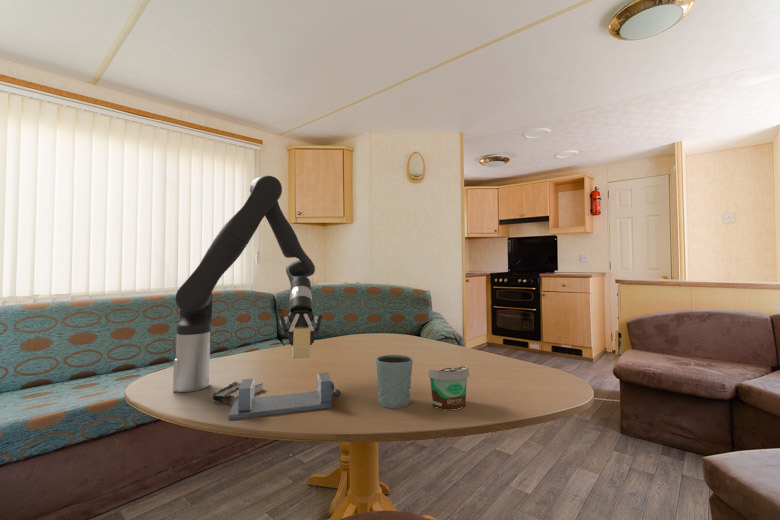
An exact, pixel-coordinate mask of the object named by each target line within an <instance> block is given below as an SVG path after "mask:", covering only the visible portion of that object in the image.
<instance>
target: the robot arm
mask: <svg viewBox="0 0 780 520" xmlns="http://www.w3.org/2000/svg"><path fill="white" fill-rule="evenodd" d="M249 193H250V194H249V196H248V197H247V200H246V201H245V202H244V203H243V206H241V208H240V209H239V210H238V211H237V212H235V213H234V215H232V217H231V218H230V219H228V220H227V222H226V223H225V224H224V225H223V226H222V228H220V229H221V230H219V232H218V234H217V235H216V236H215V238H214V239H213V240H212V242H211V244H210V246H209V248H207V251H206V253H205V254H204V256H203V258H202V259H201V261H200V262H199V264H198V265H197V267H196V268H195V270H194V271H193V272H192V273H191V274H190V275H189V277H188V278H187V279H186V280H185V281H184V283H182V285H181V286H180V287H179V288H178V289H177V291H176V293H175V303H176V306H177V307H178V309H179V318H178V323H177V326H176V346H175V347H176V349H175V351H176V352H175V359H174V360H173V371H172V374H173V375H172V376H173V378H172V379H173V381H172V382H173V383H172V392H179V393H187V392H189V393H190V392H195V391H200V390H203V389H206V388H207V387H209V386H210V359H211V358H210V357H211V356H210V355H211V354H210V353H211V352H210V351H211V325H212V320H213V319H212V317H213V315H212V314H213V293H212V292H213V291H214V289H215V286H216V285H217V284H218V283H219V281H220V279H221V277H222V276H223V275H224V274H225V273H226V272H227V271H228V270H229V268H231V267H232V265H233V264H234V263H235V262H236V261H237V259H239V257H240V256H241V255H242V253H243V252H244V250H245V248H247V245H248V244H249V243H250V242H251V239H252V238H253V236H254V234H255V232H256V231H257V230H258V227H259V226H260V224H261V222H262V221H263V219H264V217H265V219H266V220H267V222H268V224H269V226H270V228H271V230H272V233H273V234H274V237H275V239H276V242H277V244H278V246H279V248H280V251H281V253H282V255H283V256H284V257H285V258H288V259H289V258H293V259H294V258H296V259H298V260H295V261H292V262H290V263H288V264H287V266H286V267H285V274H286V276H287V277H288V280H289V281H288V282H289V284H290V295H289V301H288V302H289V314H288V316H287V315H286V316H284V315H280V316H279V324H280V328H281V333H282V335H284V336H286V335H287V336H288V345H290V346H291V347H293V327H296V326H308V327H310V346H312V345H313V344H314V342H315V335H319V333H320V329H321V325H322V321H323V315H321V314H319V315H315V314H314V312H313V311H314V310H313V297H312V296H313V295H312V290H311V289H312V287H311V286H312V285H311V281H310V278H308V277H310V276H313V275H314V274H315V272H316V266H315V264H314V262H313V261H312V259H311V258H310V257H309V256H308V254H307V253H306V252H305V251H304V249H303V247H302V246H301V243H300V241H299V239H298V236H297V234H296V232H295V230H294V229H293V227H292V225H291V224H290V223H289V221H288V219H287V218H286V217H285V215H284V212H283V211H282V209H281V206H280V204H279V200H280V198H281V196H282V193H283V186H282V183H281V181H280V180H279V178H277V177H275V176H273V175H272V176H271V175H262V176H259V177H257V178H254V179H253V180H252V181H251V183H250V186H249ZM313 321H314V322H315V323H316V326H315V328H314V327H313V323H312V322H313ZM287 322H289V323H290V328H288V327H287Z"/></svg>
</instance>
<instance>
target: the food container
mask: <svg viewBox="0 0 780 520" xmlns="http://www.w3.org/2000/svg"><path fill="white" fill-rule="evenodd" d="M427 373H428V375H427V377H428V378H430V379H429V380H430V389H431V399H432V406H435V407H438V408H441V409H440V410H443V409H458V408H461V407H463V406H464V405H465V406H466V398H467V397H466V396H467V386H468V385H467V383H468V382H467V381H468V378H469V377H470V376H471V375H470V370H469V368H468V365H466V364H465V363H462V365H461V366H459V367H445V368H443V369H440V370H437V369H436V370H435V369H432V368H429V371H428V372H427ZM435 407H434V408H435ZM438 408H437V409H438Z"/></svg>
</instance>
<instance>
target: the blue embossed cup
mask: <svg viewBox="0 0 780 520" xmlns="http://www.w3.org/2000/svg"><path fill="white" fill-rule="evenodd" d="M375 362H376V363H375V366H376V374H377V375H376V376H377V378H376V380H377V381H376V382H377V389H378V391H377V398H378V400H377V401H378V405H379V406H381V407H382V408H386V409H391V410H392V409H403V408H406V407H407V406H409V404H410V400H411V399H410V398H411V391H410V390H411V386H412V385H411V383H412V372H413V371H412V370H413V362H414V361H413V357H411V356H407V355H403V354H386V355H385V354H384V355H380V356H377V357H376V358H375ZM405 406H406V407H405Z"/></svg>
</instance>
